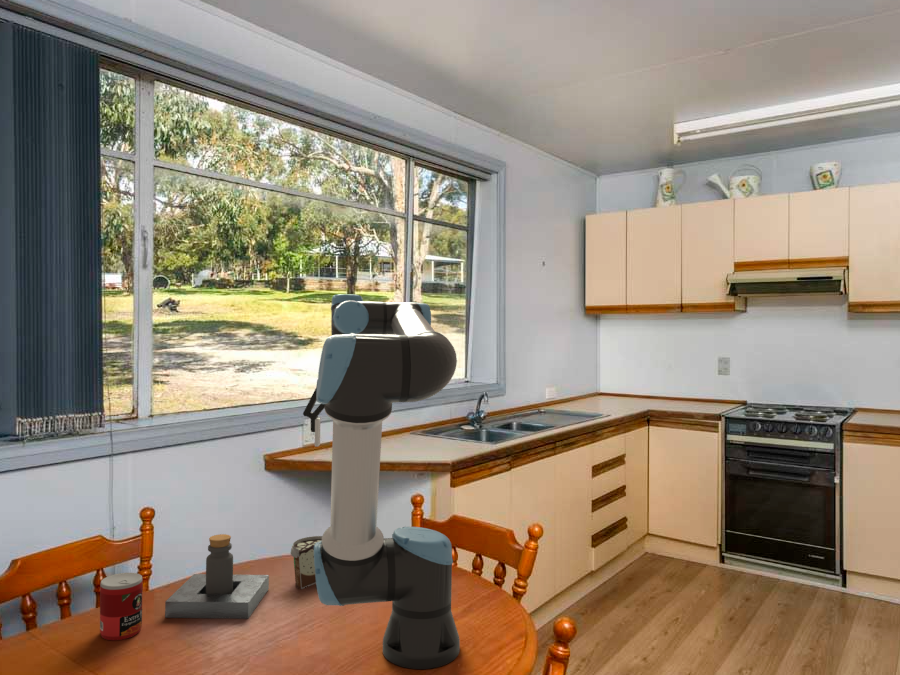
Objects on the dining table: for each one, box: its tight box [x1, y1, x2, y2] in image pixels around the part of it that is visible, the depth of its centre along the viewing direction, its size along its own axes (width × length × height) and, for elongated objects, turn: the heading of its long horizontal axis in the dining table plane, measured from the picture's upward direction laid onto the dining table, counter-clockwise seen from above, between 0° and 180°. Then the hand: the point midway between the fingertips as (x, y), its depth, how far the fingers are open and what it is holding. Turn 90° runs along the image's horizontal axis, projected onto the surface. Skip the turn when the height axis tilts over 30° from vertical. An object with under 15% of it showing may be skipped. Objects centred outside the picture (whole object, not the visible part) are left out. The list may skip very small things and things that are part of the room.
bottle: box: [205, 533, 234, 594], centre depth 149 cm, size 6×6×15 cm
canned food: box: [99, 572, 143, 641], centre depth 134 cm, size 8×8×11 cm
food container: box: [290, 535, 323, 590], centre depth 163 cm, size 12×6×10 cm, turn 144°
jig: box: [164, 573, 270, 620], centre depth 149 cm, size 16×18×4 cm
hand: (345, 446), depth 158 cm, fingers open, 13 cm apart
